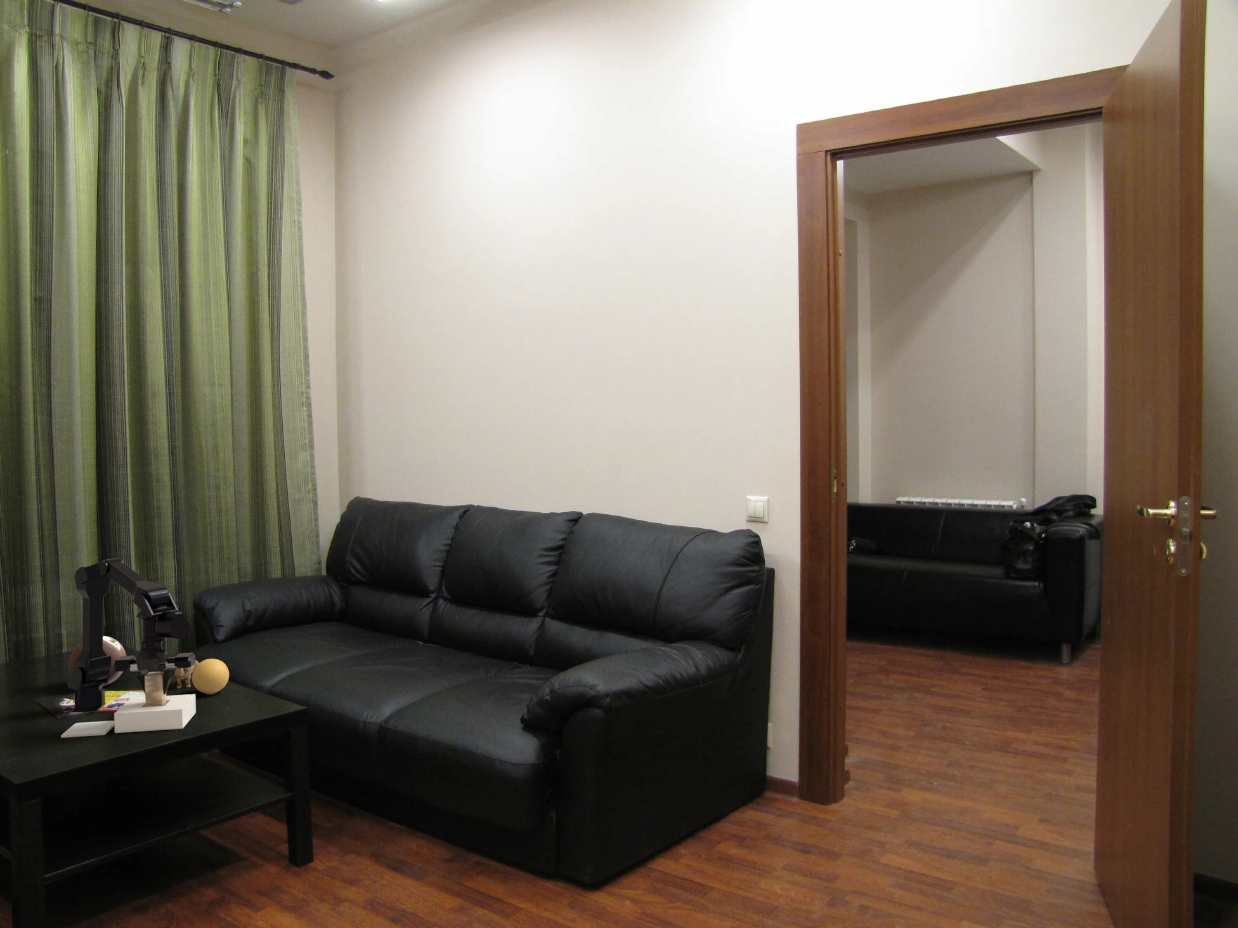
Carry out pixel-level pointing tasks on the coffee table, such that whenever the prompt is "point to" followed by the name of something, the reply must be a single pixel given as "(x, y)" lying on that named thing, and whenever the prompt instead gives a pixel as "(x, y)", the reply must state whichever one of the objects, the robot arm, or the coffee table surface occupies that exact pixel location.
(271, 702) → the coffee table surface
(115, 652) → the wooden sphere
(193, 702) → the breaker housing
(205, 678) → the stress ball
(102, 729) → the mat
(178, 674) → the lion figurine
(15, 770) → the coffee table surface
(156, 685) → the wooden block
